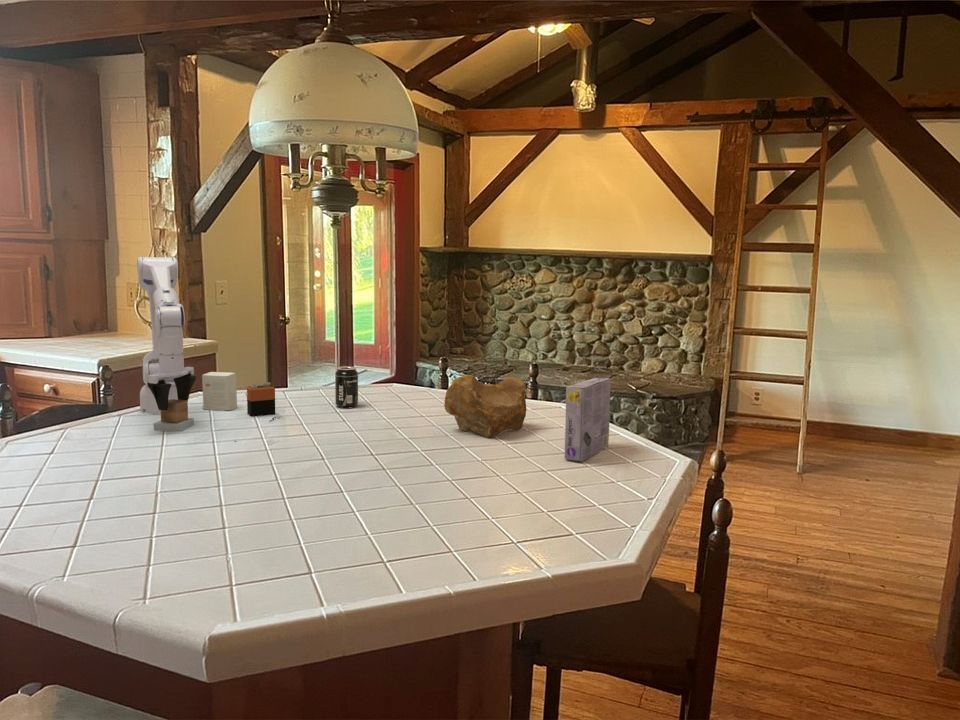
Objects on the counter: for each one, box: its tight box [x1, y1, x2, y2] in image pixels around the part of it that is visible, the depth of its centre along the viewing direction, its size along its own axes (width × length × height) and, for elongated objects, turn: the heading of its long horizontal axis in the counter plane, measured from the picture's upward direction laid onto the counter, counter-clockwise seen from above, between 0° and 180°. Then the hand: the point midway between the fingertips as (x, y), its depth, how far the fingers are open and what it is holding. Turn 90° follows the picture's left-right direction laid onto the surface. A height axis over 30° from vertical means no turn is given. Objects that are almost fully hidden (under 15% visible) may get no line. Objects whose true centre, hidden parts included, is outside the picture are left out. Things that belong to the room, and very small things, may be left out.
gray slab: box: [153, 417, 195, 433], centre depth 180 cm, size 7×7×2 cm
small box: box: [201, 371, 238, 411], centre depth 208 cm, size 8×6×10 cm
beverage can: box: [334, 365, 359, 409], centre depth 215 cm, size 7×7×12 cm
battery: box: [246, 382, 276, 420], centre depth 196 cm, size 4×7×10 cm, turn 122°
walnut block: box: [160, 399, 189, 423], centre depth 179 cm, size 4×4×5 cm
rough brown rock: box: [444, 374, 527, 439], centre depth 188 cm, size 23×17×15 cm
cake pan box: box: [564, 377, 612, 463], centre depth 170 cm, size 19×5×18 cm, turn 149°
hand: (173, 406), depth 179 cm, fingers open, 7 cm apart
